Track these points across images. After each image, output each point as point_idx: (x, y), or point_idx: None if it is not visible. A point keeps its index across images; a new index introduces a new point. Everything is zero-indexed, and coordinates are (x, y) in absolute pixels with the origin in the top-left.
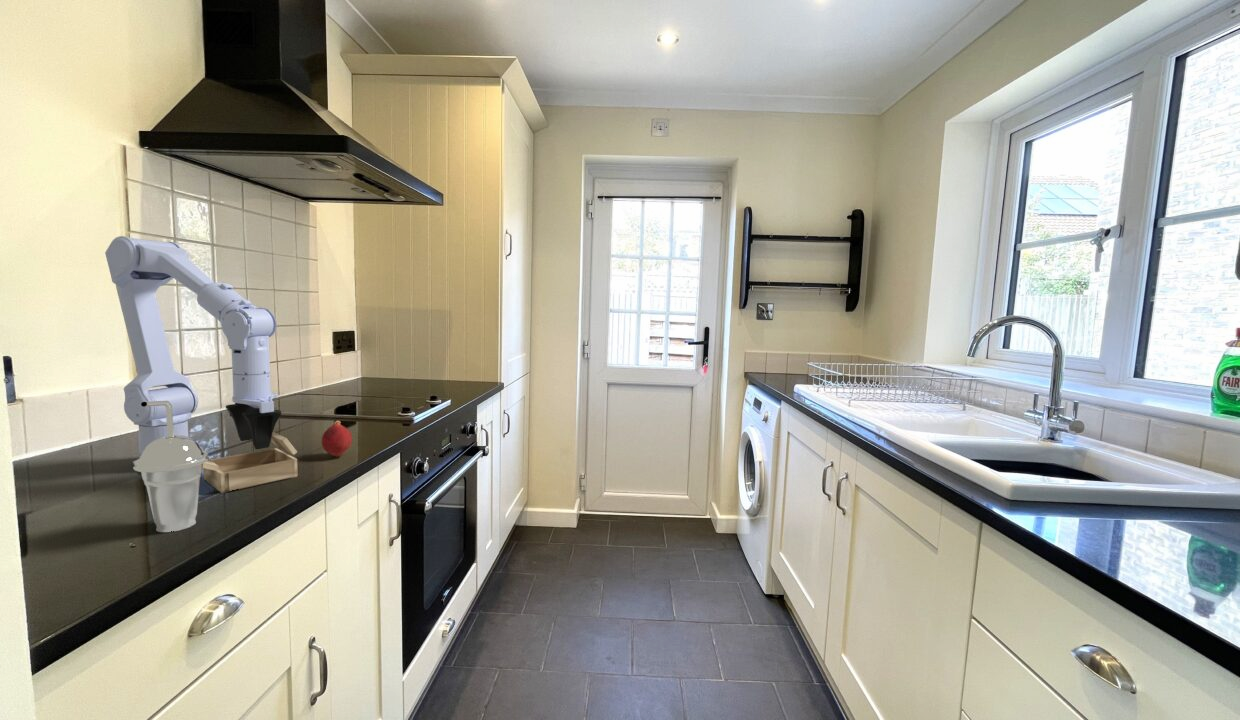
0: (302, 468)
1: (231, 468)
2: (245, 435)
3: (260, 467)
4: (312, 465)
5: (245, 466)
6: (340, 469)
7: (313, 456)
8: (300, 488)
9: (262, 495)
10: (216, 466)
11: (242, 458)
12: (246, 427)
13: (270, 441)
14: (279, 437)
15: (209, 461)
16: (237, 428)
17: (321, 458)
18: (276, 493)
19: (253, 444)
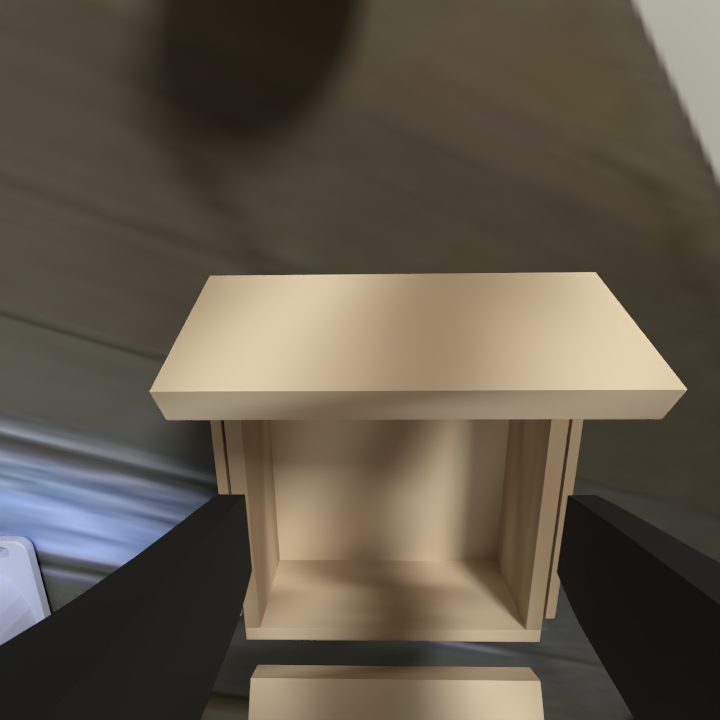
0: (410, 201)
1: (268, 494)
2: (235, 581)
3: (569, 488)
4: (395, 132)
5: (265, 437)
6: (605, 29)
7: (203, 41)
8: (715, 334)
9: (656, 473)
10: (538, 693)
11: (251, 472)
12: (195, 642)
13: (633, 515)
14: (538, 406)
15: (438, 704)
16: (200, 710)
17: (284, 17)
18: (683, 429)
19: (576, 614)
